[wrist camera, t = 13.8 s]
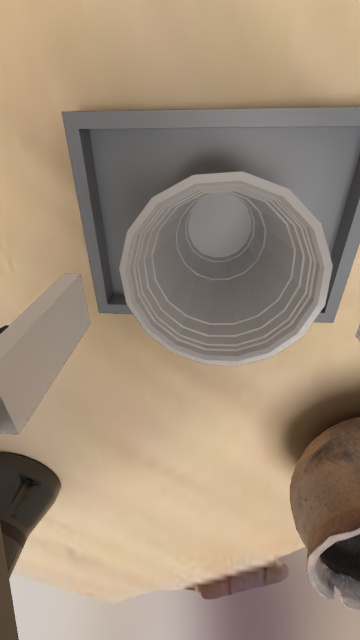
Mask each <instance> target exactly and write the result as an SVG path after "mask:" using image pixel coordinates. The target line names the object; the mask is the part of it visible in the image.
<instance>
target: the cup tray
mask: <svg viewBox="0 0 360 640" xmlns="http://www.w3.org/2000/svg"><path fill="white" fill-rule="evenodd" d="M62 116H63V122H64V127H65V132H66V138H67V143H68V149H69V154H70V159H71V165H72V170H73V176H74V181H75V186H76V192H77V197H78V203H79V208H80V213H81V219H82V224H83V230H84V235H85V240H86V246H87V251H88V257H89V262H90V267H91V273H92V278H93V284H94V289H95V294H96V300H97V305H98V311H99V313H116V314H133V313H132V311H131V310H130V308H129V307H128V305H127V303H126V299H125V294H124V289H123V284H122V280H121V275H120V270H119V267H120V263H121V258H122V253H123V249H124V244H125V239H126V234H127V231H128V229H129V228H130V227H131V225H132V224H133V223H134V221H135V220H136V219H137V217H138V216H139V215H140V213H141V212H142V211H143V209H144V208H145V206H146V205H147V204H148V202H149V201H150V200H151V198H152V197H154V196H156V195H158V194H159V193H161V192H163V191H165V190H167V189H168V188H170V187H172V186H174V185H176V184H177V183H179V182H181V181H183V180H185V179H187V178H188V177H190V176H192V175H199V174H213V173H226V172H240V171H243V172H246V173H249V174H251V175H254V176H256V177H259V178H262V179H264V180H267V181H269V182H272V183H275V184H277V185H280V186H282V187H285V188H288V189H290V190H291V191H292V192H293V194H294V195H295V196H296V197H297V198H298V199H299V200H300V201H301V202H302V203H303V204H304V205H305V207H306V208H307V209H308V210H309V211H310V212H311V213H312V214H313V215H314V216H315V217H316V219H317V220H318V221H319V222H320V223H321V224H322V228H323V231H324V235H325V239H326V242H327V246H328V250H329V253H330V257H331V261H332V264H333V268H332V273H331V278H330V283H329V288H328V293H327V298H326V303H325V306H324V307H323V309H322V310H321V312H320V313H319V314H318V316H317V317H316V319H315V320H314V321H313V322H322V323H333V322H334V319H335V316H336V313H337V310H338V307H339V304H340V301H341V298H342V295H343V292H344V289H345V286H346V283H347V280H348V277H349V274H350V270H351V267H352V264H353V261H354V258H355V255H356V252H357V249H358V246H359V243H360V107H314V108H253V109H192V110H131V111H70V112H62Z"/></svg>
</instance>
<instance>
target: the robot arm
mask: <svg viewBox="0 0 360 640" xmlns="http://www.w3.org/2000/svg"><path fill="white" fill-rule="evenodd" d="M89 325H90V319H89V314H88V310H87V305H86V300H85V295H84V290H83V286H82V281H81V276H80V274H63V275H62V276H61V277H60V278H59V279H58V280H57V281H56V282H55V283H54V284H53V285H52V286H51V287H50V288H49V289H48V290H46V291H45V292H44V293H43V294H42V295H41V296H40V297H39V298H38V299H37V300H36V301H35V302H34V303H33V304H32V305H31V306H30V307H29V308H28V309H26V310H25V311H24V312H23V313H22V314H21V315H20V316H19V317H18V318H17V319H16V320H15V321H14V322H13V323H12V324H11V325H10V326H7V325H6V326H4V327H2V328H0V433H6V434H18V435H19V434H20V432H21V431H22V429H23V428H24V426H25V425H26V423H27V422H28V420H29V418H30V417H31V415H32V414H33V412H34V411H35V409H36V407H37V406H38V404H39V403H40V401H41V400H42V398H43V397H44V395H45V393H46V392H47V390H48V389H49V387H50V386H51V384H52V383H53V381H54V379H55V378H56V376H57V375H58V373H59V372H60V370H61V368H62V367H63V365H64V364H65V362H66V361H67V359H68V358H69V356H70V354H71V353H72V351H73V350H74V348H75V347H76V345H77V344H78V342H79V340H80V339H81V337H82V336H83V334H84V333H85V331H86V329H87V328H88V326H89ZM356 337H357V338H358V340H359V341H360V325H359V328H358V331H357V333H356ZM60 487H61V486H60V482H59V480H58V478H57V477H56V476H55V474H54V473H53V472H51V471H50V470H49V469H48V468H46V467H45V466H43V465H42V464H40V463H38V462H36V461H34V460H31V459H29V458H26V457H23V456H19V455H15V454H8V453H0V640H19V639H18V633H17V627H16V621H15V614H14V607H13V601H12V595H11V588H10V582H9V578H10V576H11V573H12V571H13V569H14V567H15V565H16V562H17V560H18V558H19V556H20V553H21V551H22V549H23V547H24V545H25V542H26V540H27V538H28V536H29V535H30V533H31V532H32V531H33V529H34V528H35V527H36V526H37V524H38V523H39V522H40V520H41V519H42V518H43V517H44V515H45V514H46V513H47V512H48V510H49V509H50V508H51V507H52V505H53V504H54V502H55V500H56V498H57V496H58V493H59V491H60Z"/></svg>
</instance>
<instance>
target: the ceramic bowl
mask: <svg viewBox="0 0 360 640" xmlns="http://www.w3.org/2000/svg"><path fill="white" fill-rule="evenodd" d="M290 503H291V510H292V514H293V517H294V521H295V525H296V529H297V531H298V533H299V535H300V537H301V539H302V541H303V543H304V545H305V546H306V548H307V549H308V555H307V570H306V571H307V576H308V580H309V583H310V584H311V585H312V586H313V588H314V589H315V590H316V591H317V592H318V593H319V594H320V595H321V596H322V597H324V598H327V599H334V593H335V588H336V589H337V591H338V593H339V596H340V599H341V601H342V604H343V606H345V607H347V608H349V609H351V610H358V611H360V416H359V417H355V418H350V419H347V420H344V421H342V422H339V423H337V424H335V425H333V426H331V427H330V428H328V429H326V430H325V431H324V432H323V433H321V434H320V435H319V436H317V437H316V438H315V439H314V440H313V441H312V442H311V443H310V444H309V445H308V446H307V447H306V449H305V450H304V452H303V453H302V455H301V457H300V459H299V461H298V463H297V465H296V467H295V470H294V473H293V475H292V480H291V484H290Z"/></svg>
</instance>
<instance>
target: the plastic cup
mask: <svg viewBox="0 0 360 640" xmlns="http://www.w3.org/2000/svg"><path fill="white" fill-rule="evenodd" d="M332 268H333V264H332V261H331V257H330V253H329V250H328V246H327V242H326V239H325V235H324V231H323V228H322V224H321V223H320V222H319V221H318V220H317V219H316V217H315V216H314V215H313V214H312V213H311V212H310V211H309V210H308V209H307V208H306V207H305V205H304V204H303V203H302V202H301V201H300V200H299V199H298V198H297V197H296V196H295V195H294V194H293V192H292V191H291V190H290V189H288V188H285V187H282V186H280V185H277V184H275V183H272V182H269V181H267V180H264V179H262V178H259V177H256V176H254V175H251V174H249V173H246V172H243V171H240V172H226V173H213V174H199V175H192V176H190V177H188V178H187V179H185V180H183V181H181V182H179V183H177V184H176V185H174V186H172V187H170V188H168V189H167V190H165V191H163V192H161V193H159V194H158V195H156V196H154V197H152V198H151V200H150V201H149V202H148V204H147V205H146V206H145V208H144V209H143V211H142V212H141V213H140V215H139V216H138V217H137V219H136V220H135V221H134V223H133V224H132V225H131V227H130V228H129V229H128V231H127V234H126V239H125V244H124V249H123V253H122V258H121V263H120V267H119V270H120V275H121V280H122V284H123V289H124V294H125V299H126V303H127V305H128V307H129V308H130V310H131V311H132V313H133V314H134V316H135V317H136V319H137V321H138V322H139V324H140V325H141V327H142V328H143V330H144V331H145V332H146V333H147V334H148V335H150V336H151V337H152V338H153V339H155V340H156V341H157V342H159V343H160V344H161V345H162V346H164V347H165V348H166V349H168V350H169V351H170V352H172V353H174V354H177V355H180V356H183V357H185V358H188V359H191V360H193V361H196V362H199V363H202V364H213V365H233V366H238V365H242V364H246V363H250V362H254V361H258V360H262V359H265V358H269V357H272V356H274V355H275V354H277V353H279V352H280V351H282V350H283V349H285V348H286V347H288V346H289V345H291V344H292V343H294V342H295V341H297V340H298V339H300V338H301V337H303V335H304V334H305V333H306V331H307V330H308V328H309V327H310V326H311V324H312V323H313V321H314V320H315V319H316V317H317V316H318V314H319V313H320V312H321V310H322V309H323V307H324V306H325V303H326V298H327V293H328V288H329V283H330V278H331V273H332Z"/></svg>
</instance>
